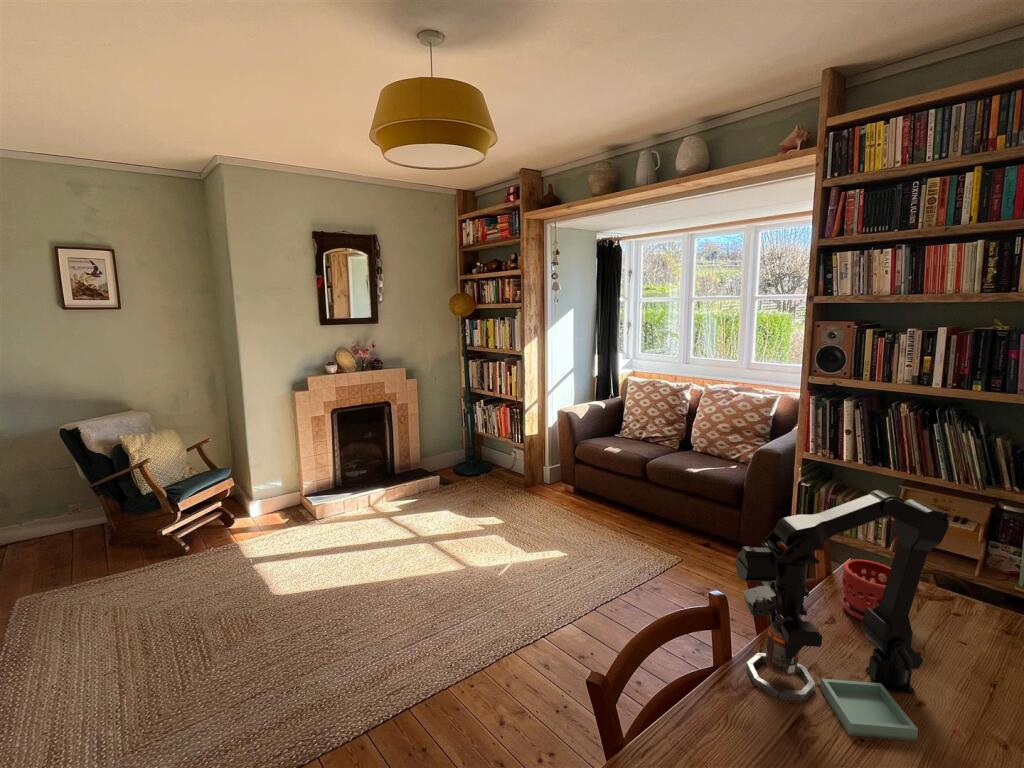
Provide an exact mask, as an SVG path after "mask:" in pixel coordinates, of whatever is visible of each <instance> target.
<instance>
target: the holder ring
mask: <svg viewBox="0 0 1024 768" xmlns="http://www.w3.org/2000/svg"><path fill="white" fill-rule="evenodd" d="M761 663H766V652H765V653H764V652H757V653H756V654H755V655H754V656H753V657H751V658H750V659H749V660H748V661H746V671H747V670H748V671H747V672H749V673H748V675H749V677H750V679H751V681H752V683H753V685H754V686H755V687H757V688H759V689H761V690H762V691H764V692H766V693H768V694H769V695H771V696H773V698H774V697H775V698H776V699H779V700H785V701H787V700H788V701H798V702H804V701H806V700H807V699H808V698H809V697H810V696H811V695H812V694H813V692H814V691H815V687H816V682H815V681H814V679H813V677H812V676H811V674H810V672H809V671H808V669H807V668H806V667H805V666H804V665H802V664H800V663H799V662H798V664H797V671H796V673H798V674H799V675H800V676H801V678H802V679H803V681H804V683H805V686H804V687H802V689H801V690H800V689H799V690H798V689H796V690H795V689H787V688H786V689H785V688H784V689H783V688H778V687H777V686H775V685H773V684H772V683H770V682H768V681H766V680H765V679H762V678H761V677H760V676H759V674H758V671H757V670H756V667H757V666H758V665H760V664H761Z"/></svg>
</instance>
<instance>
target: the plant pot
mask: <svg viewBox="0 0 1024 768" xmlns="http://www.w3.org/2000/svg"><path fill="white" fill-rule="evenodd" d="M890 569H891V567H889V566H887V565H885V564H882V563H880V562H876V561H871V560H866V559H851V560H848V561H846V562H845V563H844V565H843V571H842V579H841V580H842V583H841V585H842V590H843V596H842V597H841V599H840V600H841V605H842V606H843V609H844V610H845V611H846V612H847V613H848V614H850V615H851V616H853V617H854V618H856V619H857V620H861V621H862V620H863V618H864V614H865V609H866V608H867V607H868V608H871V609H873V608H874V607H876V606H877V605H879V604H880V602H881V599H882V596H883V593H884V589H885V586H886V583H887V579H888V576H889V572H890ZM862 570H865V572H862ZM872 572H874V573H875V574H873V573H872ZM880 574H882V575H884V576H885V577H886V581H883V580H881V579H880V578H879V577H880V576H879V575H880ZM863 577H864V578H863ZM870 579H874V580H875V581H874V582H872V581H870Z"/></svg>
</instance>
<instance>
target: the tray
mask: <svg viewBox="0 0 1024 768" xmlns="http://www.w3.org/2000/svg"><path fill="white" fill-rule="evenodd" d="M819 690H820V691H821V694H822V695H823V696H824V697H825V699H826V701H827V702H828V704H829V706H830V708H831V709H832V711H833V712H834V713H835V715H836V716H837V718H838V719H839V722H840V723H841V725H842V727H843V728H844V729H845V731H846V732H847V734H848V735H849V736H853V737H855V736H856V737H866V738H877V739H887V740H899V741H910V742H917V740H918V733H919V728H918V727H917V725H915V724H914V722H913V721H912V719H911V718H910V717H909V716H908V714H906V712H905V711H904V710H903V709H902V707H901V706H900V704H899V703H898V702H897V701H896V699H894V698H893V696H892V695H891V694H890V691H887V690H886V689H885V687H884V686H883V685H882V684H881V683H876V682H868V681H855V680H845V679H844V680H842V679H834V678H833V679H831V678H830V679H829V678H821V679H820V687H819Z"/></svg>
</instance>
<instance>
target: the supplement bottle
mask: <svg viewBox="0 0 1024 768" xmlns="http://www.w3.org/2000/svg"><path fill="white" fill-rule="evenodd" d="M786 620H787V619H784V618H782V617H781V615H776V616H775V621H774V623H772V624H771V623H770V625H769V626H768V632H767V641H766V643H767V644H766V652H765V653H766V662H765V665H766V666H767V668H768V669H769V670H770V671H772V673H774V674H777V675H779V676H782V677H792V676H794V675H795V674H796V673H797V672H796V671H797V664H798V663H799V653H800V651H799V652H798V653H797V654H796V655H795V656H794V657H793V659H787V658H786V654H785V639H784V638H783V637H782V635H781V633H780V632H779V630H778V629H781V627H782V623H784V622H785V621H786Z"/></svg>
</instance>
